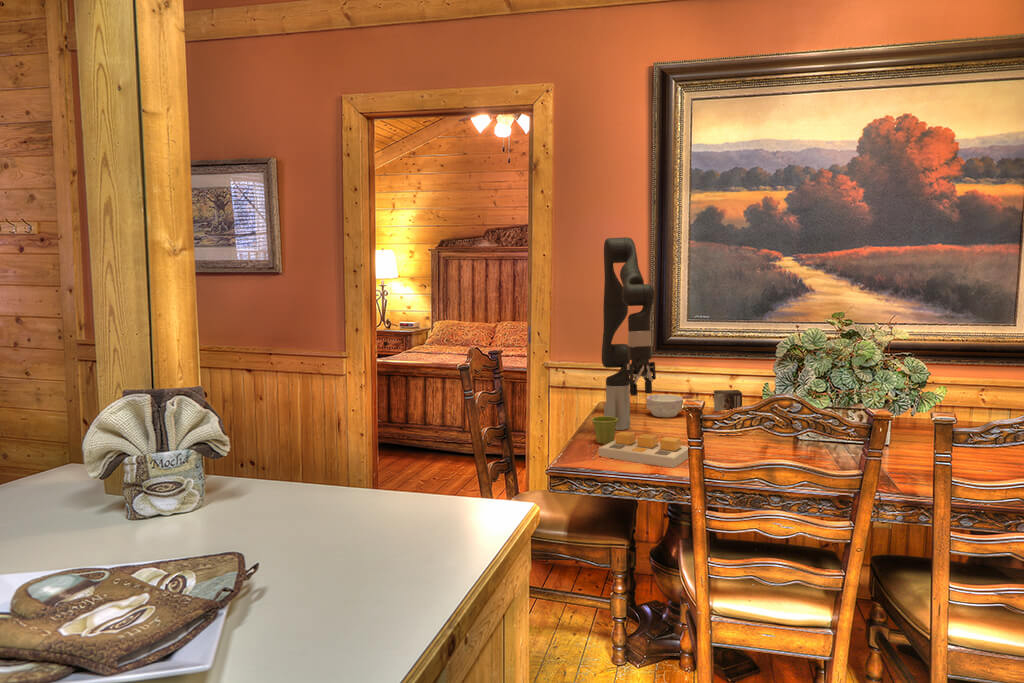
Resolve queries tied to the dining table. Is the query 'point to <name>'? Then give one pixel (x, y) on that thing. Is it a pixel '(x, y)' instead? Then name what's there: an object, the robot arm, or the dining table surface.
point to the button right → (670, 443)
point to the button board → (644, 454)
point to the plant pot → (604, 428)
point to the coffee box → (727, 401)
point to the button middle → (647, 440)
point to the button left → (625, 438)
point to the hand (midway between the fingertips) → (641, 394)
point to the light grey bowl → (664, 405)
